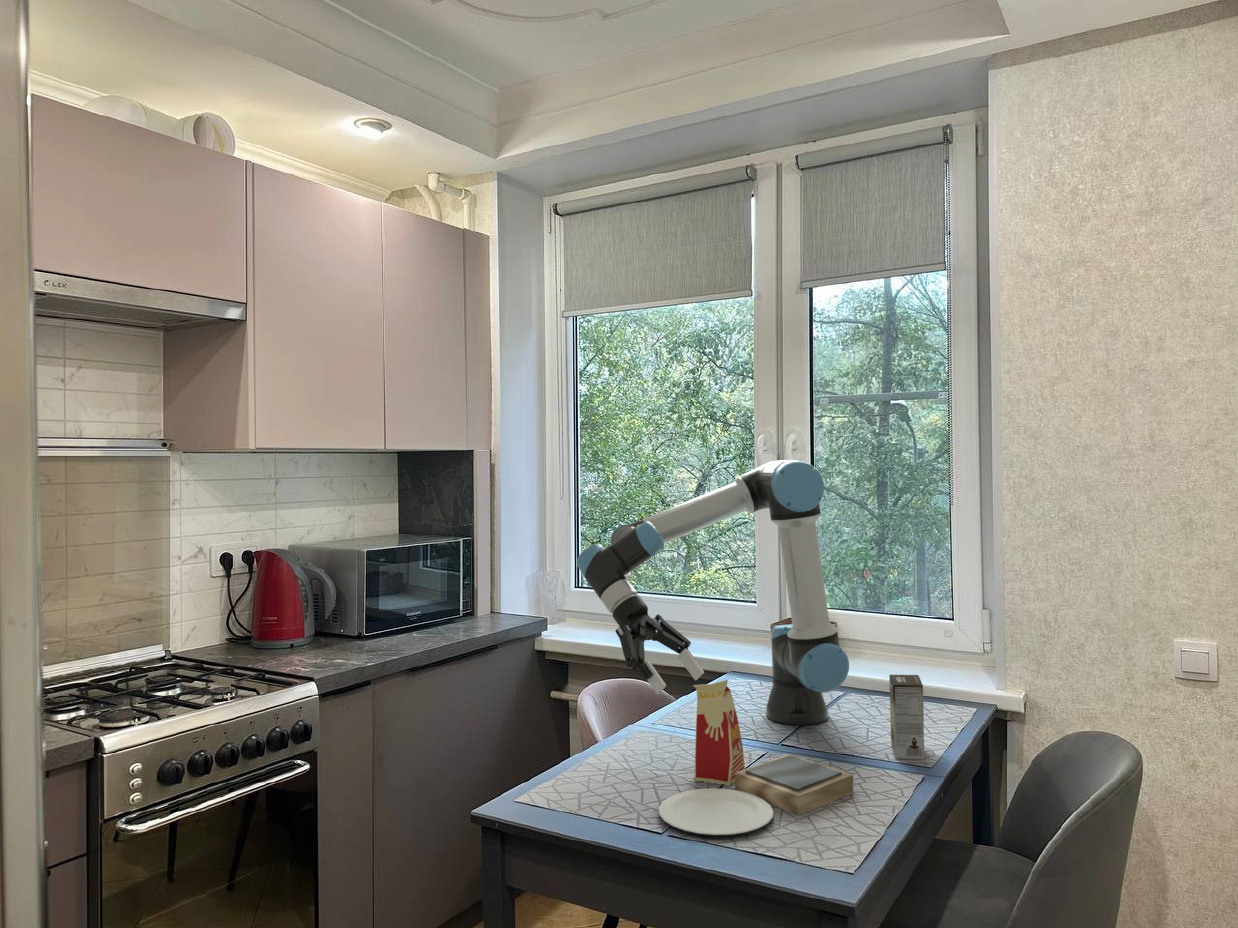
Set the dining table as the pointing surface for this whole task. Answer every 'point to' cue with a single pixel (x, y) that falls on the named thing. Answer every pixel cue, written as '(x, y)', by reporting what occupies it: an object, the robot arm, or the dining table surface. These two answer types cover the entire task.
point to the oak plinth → (794, 783)
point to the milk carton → (717, 735)
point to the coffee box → (907, 716)
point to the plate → (716, 812)
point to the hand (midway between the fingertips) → (681, 682)
